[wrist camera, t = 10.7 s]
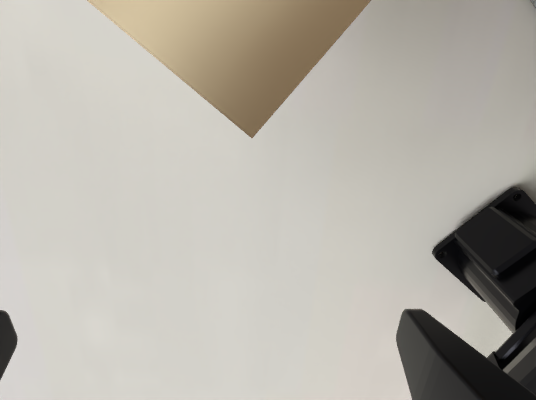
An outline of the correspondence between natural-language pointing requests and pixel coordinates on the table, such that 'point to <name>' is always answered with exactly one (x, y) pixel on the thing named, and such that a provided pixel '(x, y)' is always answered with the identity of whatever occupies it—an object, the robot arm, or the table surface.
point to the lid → (236, 46)
